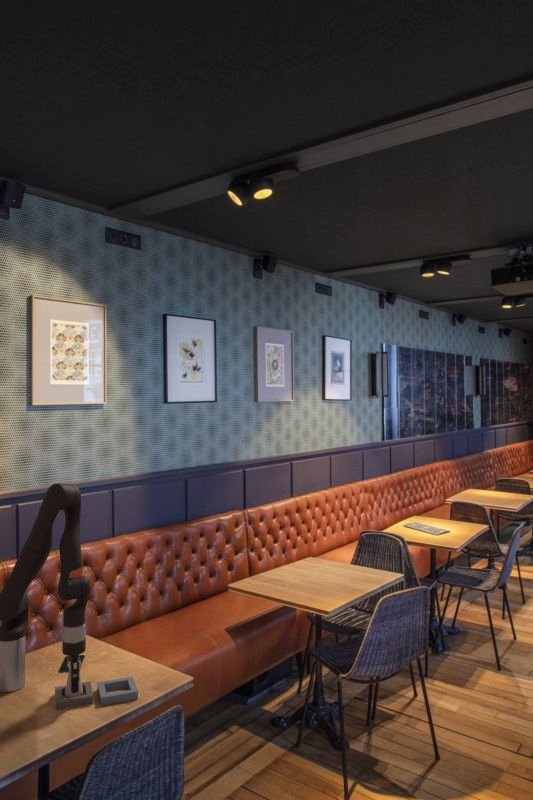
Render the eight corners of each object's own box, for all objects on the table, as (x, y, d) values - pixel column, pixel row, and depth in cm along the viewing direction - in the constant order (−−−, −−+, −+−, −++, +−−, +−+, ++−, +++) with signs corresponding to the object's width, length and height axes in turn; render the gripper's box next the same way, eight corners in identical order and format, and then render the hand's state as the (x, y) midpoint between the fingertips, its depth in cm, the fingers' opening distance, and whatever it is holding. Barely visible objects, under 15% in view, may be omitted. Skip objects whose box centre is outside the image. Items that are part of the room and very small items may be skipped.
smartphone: (85, 654, 231) (79, 670, 216) (85, 656, 231) (79, 672, 216) (65, 655, 230) (57, 671, 215) (65, 657, 230) (57, 673, 215)
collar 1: (55, 710, 187) (55, 702, 187) (54, 694, 198) (55, 687, 198) (93, 703, 191) (93, 696, 191) (90, 688, 202) (90, 681, 202)
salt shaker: (60, 700, 193) (61, 661, 194) (73, 693, 198) (74, 655, 199) (73, 704, 191) (73, 664, 191) (86, 697, 196) (86, 658, 196)
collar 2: (100, 705, 190) (100, 697, 190) (97, 689, 201) (97, 682, 201) (138, 698, 194) (138, 691, 194) (132, 683, 206) (132, 676, 206)
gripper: (61, 632, 200) (61, 679, 200) (63, 647, 187) (62, 698, 187) (84, 629, 203) (84, 676, 203) (87, 643, 190) (87, 694, 189)
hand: (73, 686), depth 195 cm, fingers open, 8 cm apart
